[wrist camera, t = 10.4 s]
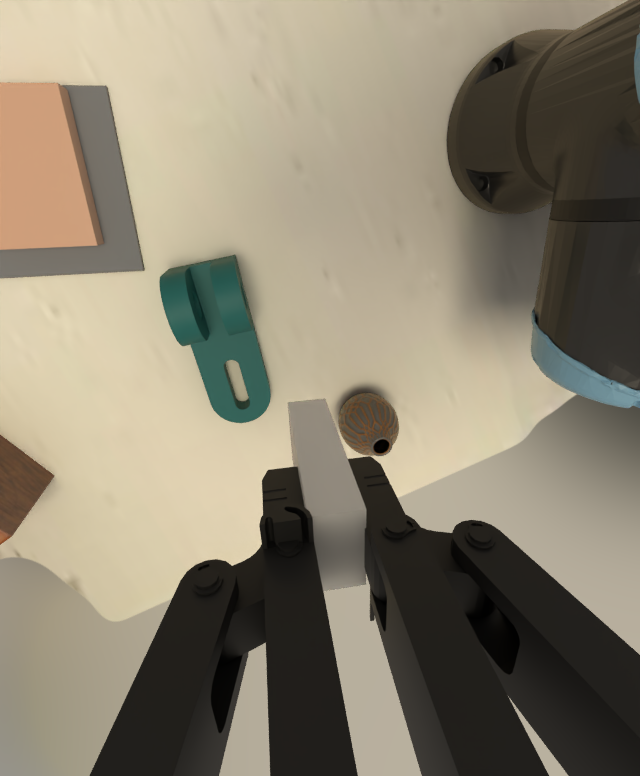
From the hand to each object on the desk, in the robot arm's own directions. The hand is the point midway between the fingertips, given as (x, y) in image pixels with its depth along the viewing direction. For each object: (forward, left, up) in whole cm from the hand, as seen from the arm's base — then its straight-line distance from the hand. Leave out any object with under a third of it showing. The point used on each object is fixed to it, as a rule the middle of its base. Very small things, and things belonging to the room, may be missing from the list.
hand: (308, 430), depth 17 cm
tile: (+20, -6, -28) cm, 35 cm away
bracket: (+5, +6, -30) cm, 31 cm away
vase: (-10, +16, -30) cm, 35 cm away
